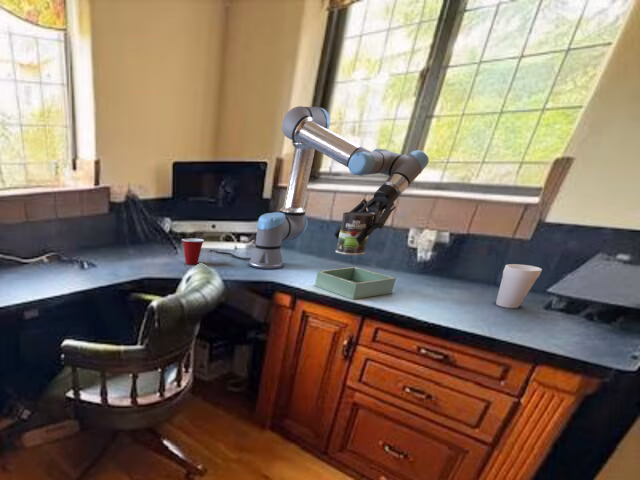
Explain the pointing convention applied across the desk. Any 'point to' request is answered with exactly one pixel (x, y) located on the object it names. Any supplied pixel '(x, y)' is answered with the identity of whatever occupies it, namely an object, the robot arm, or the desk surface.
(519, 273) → the foam cup
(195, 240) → the plastic cup
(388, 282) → the tray
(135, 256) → the desk surface
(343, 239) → the coffee can
